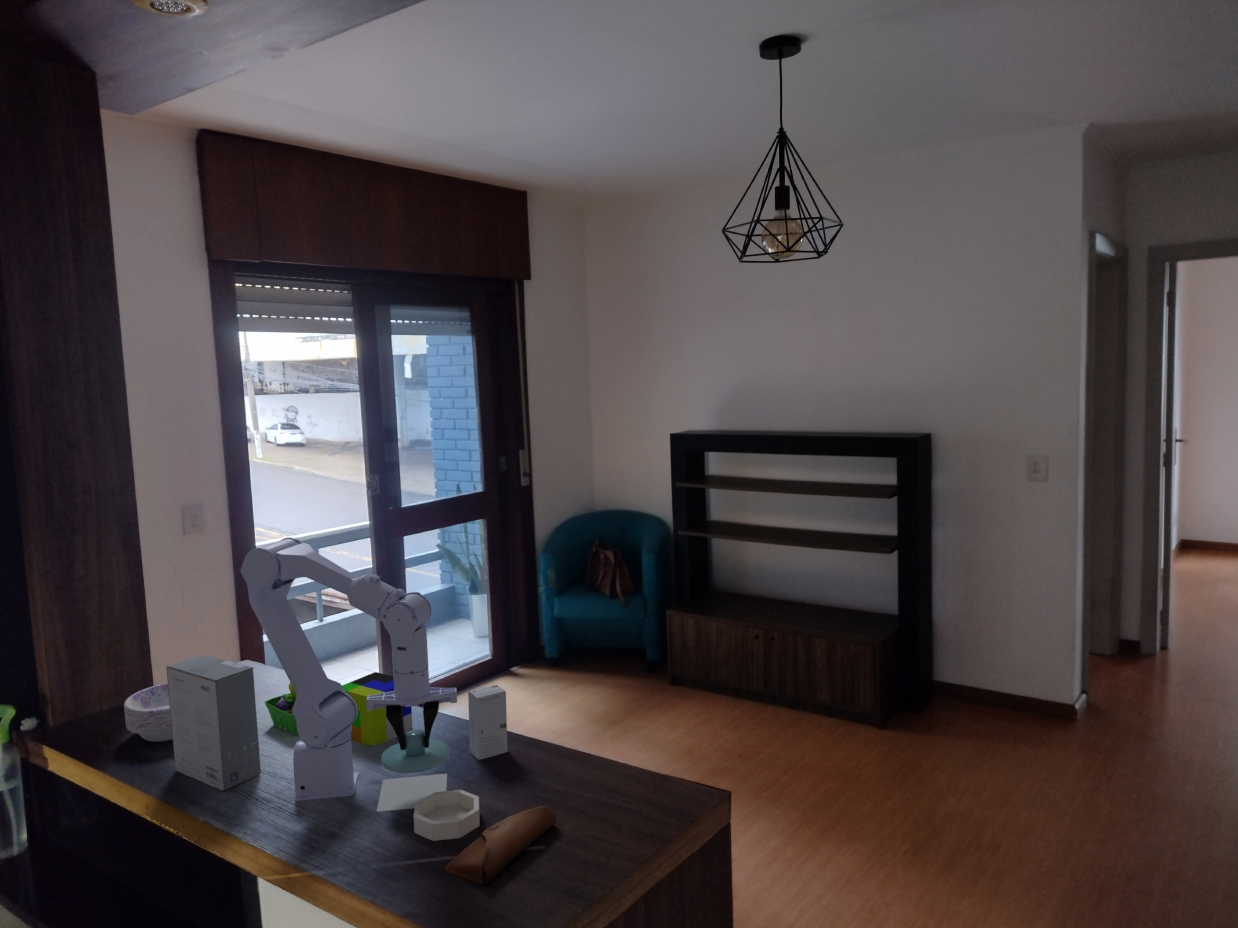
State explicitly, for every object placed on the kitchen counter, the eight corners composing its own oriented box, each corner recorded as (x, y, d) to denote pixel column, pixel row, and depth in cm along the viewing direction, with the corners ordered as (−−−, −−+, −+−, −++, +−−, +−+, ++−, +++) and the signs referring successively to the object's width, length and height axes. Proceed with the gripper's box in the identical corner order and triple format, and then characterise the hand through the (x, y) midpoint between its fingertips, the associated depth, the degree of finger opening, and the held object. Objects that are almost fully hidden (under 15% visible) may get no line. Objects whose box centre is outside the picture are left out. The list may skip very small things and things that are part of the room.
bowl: (413, 844, 131) (412, 826, 130) (417, 811, 141) (416, 793, 140) (479, 837, 132) (479, 818, 132) (479, 804, 142) (478, 787, 142)
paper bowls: (161, 754, 163) (158, 714, 162) (109, 740, 170) (106, 702, 169) (228, 723, 177) (226, 686, 176) (178, 711, 183) (175, 676, 182)
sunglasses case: (512, 812, 140) (529, 783, 137) (544, 842, 137) (562, 813, 135) (440, 871, 124) (457, 839, 121) (474, 906, 121) (493, 874, 119)
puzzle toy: (412, 728, 173) (410, 680, 172) (373, 747, 164) (371, 697, 163) (377, 718, 178) (375, 671, 177) (338, 736, 170) (335, 687, 169)
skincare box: (478, 761, 158) (476, 698, 156) (469, 752, 161) (466, 690, 160) (509, 752, 161) (507, 690, 160) (498, 744, 165) (496, 683, 163)
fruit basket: (264, 724, 176) (260, 671, 175) (304, 711, 183) (301, 659, 181) (292, 740, 168) (288, 684, 167) (333, 725, 175) (330, 671, 174)
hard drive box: (263, 774, 154) (255, 667, 152) (223, 792, 148) (214, 681, 146) (212, 754, 163) (204, 652, 160) (172, 770, 156) (163, 665, 154)
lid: (378, 776, 138) (377, 751, 138) (384, 746, 149) (383, 723, 148) (448, 768, 140) (447, 744, 140) (449, 740, 151) (448, 717, 150)
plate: (376, 813, 140) (376, 811, 140) (383, 781, 151) (383, 779, 151) (445, 806, 142) (445, 804, 142) (447, 775, 153) (447, 773, 153)
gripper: (362, 680, 137) (367, 761, 139) (455, 672, 140) (458, 752, 142) (367, 665, 144) (372, 742, 146) (455, 658, 147) (459, 734, 148)
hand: (415, 746), depth 144 cm, fingers closed on lid, 3 cm apart
